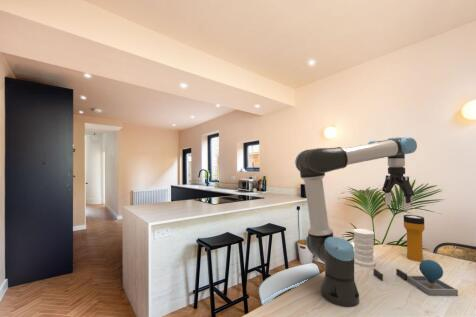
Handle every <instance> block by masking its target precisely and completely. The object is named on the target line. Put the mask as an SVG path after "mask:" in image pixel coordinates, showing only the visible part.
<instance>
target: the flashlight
mask: <svg viewBox="0 0 476 317" xmlns="http://www.w3.org/2000/svg"><path fill="white" fill-rule="evenodd" d="M403 228H405V230H406V257H407V259H409V260H411V261H416V262H422V261H424V258H423V256H424V255H423V254H424V253H423V251H424V249H423V232H424V231H425V217H424V216H419V215H413V214H404V215H403Z"/></svg>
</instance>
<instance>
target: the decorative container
mask: <svg viewBox="0 0 476 317" xmlns="http://www.w3.org/2000/svg"><path fill="white" fill-rule="evenodd" d="M352 233H353V240H354V241H353V248H354V254H355V256H354V264H356V265H359V266H362V267H365V268H366V267H367V268H369V267H371V268H372V267H374V266H376V261H375V260H374V247H375V246H374V235H375V232H374V231H373V230H370V229H365V228H354V229H352Z"/></svg>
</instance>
